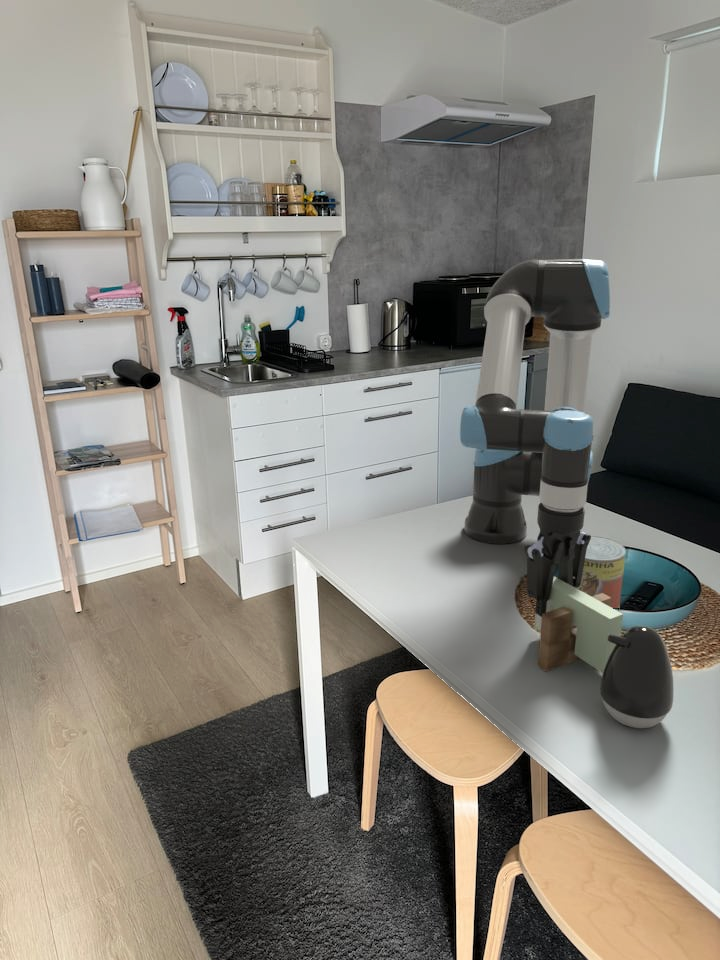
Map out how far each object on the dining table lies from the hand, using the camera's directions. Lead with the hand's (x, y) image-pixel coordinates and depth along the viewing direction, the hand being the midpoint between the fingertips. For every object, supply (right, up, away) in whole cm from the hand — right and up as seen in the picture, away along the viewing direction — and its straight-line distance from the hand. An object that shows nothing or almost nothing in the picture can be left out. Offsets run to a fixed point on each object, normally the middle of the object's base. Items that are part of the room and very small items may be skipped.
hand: (550, 626), depth 123 cm
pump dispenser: (+7, -10, -19) cm, 22 cm away
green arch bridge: (+3, -3, -4) cm, 6 cm away
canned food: (+12, +2, +14) cm, 18 cm away
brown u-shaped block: (+3, -4, -4) cm, 6 cm away
